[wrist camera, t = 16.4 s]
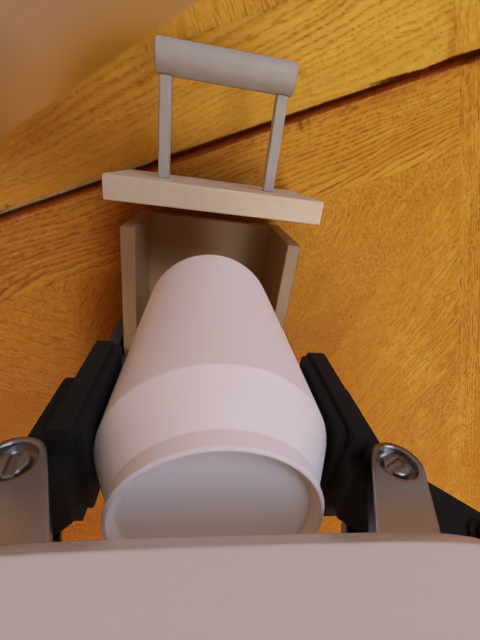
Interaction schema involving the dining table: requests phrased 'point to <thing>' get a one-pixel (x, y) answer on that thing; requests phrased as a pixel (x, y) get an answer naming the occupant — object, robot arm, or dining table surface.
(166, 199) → the drawer
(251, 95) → the dining table surface
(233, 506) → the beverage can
